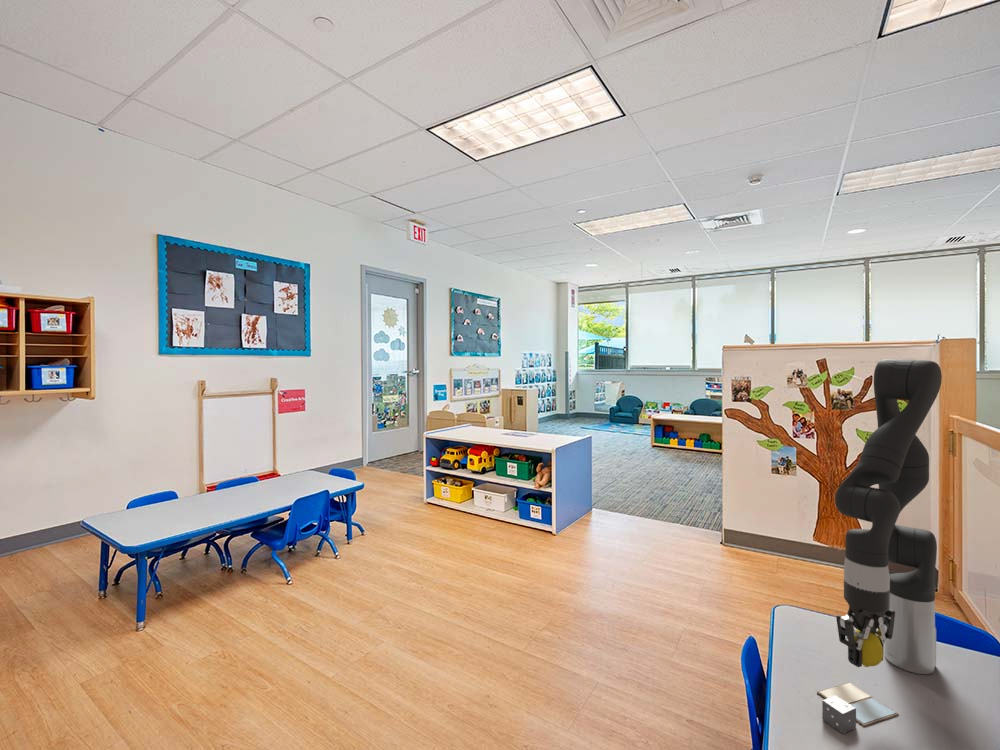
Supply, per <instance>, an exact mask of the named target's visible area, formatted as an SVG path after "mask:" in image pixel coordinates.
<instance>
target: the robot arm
mask: <svg viewBox="0 0 1000 750" xmlns="http://www.w3.org/2000/svg"><path fill="white" fill-rule="evenodd" d="M942 377H943V376H942V369H941V367H940V365H939V364H938V363H937V362H935V361H932V360H926V359H924V360H923V359H905V358H904V359H897V358H893V359H892V358H886V359H885V358H884V359H881V360H880V361H878V362H877V363H876V365H875V368H874V373H873V391H874V400H875V401H874V402H875V409H876V419H877V429H875V430H874V431H873V432H872V433H871V434H870V435H869V437H868V438H867V440H866V441H865V444H864V446H863V449H862V452H861V454H860V457H859V459H858V463H857V464H856V466H855V467H854V468H853V469H852V470H851V472H850V473H849V474H848V476H846V478H845V479H844V480H843V481H842V483H840V485H839V486H838V488H837V490H836V492H835V494H834V503H835V504H834V505H835V507H836V509H837V511H838V512H840V514H842V515H844V516H846V517H850V518H853V519H858V520H862V521H865V522H870V523H872V524H871V528H870V529H868V528H867V529H865V528H853V529H852V528H851V529H849V530H847V531H846V532H845V541H844V542H845V545H844V546H845V547H844V549H845V551H844V552H845V553H844V556H845V557H844V563H843V599H844V600H845V601H846V603H847V605H848V610H847V614H846V615H845V616H842V615H840V614H837V616H836V626H837V632H838V639H839V640H838V641H839V642H840V643H841V644H843V645H845V646H847V651H848V652H847V660H848V662H849V663H850V664H852V665H853V666H855V667H857V668H861V667H862V666H863V664H862V650H861V648H862V645H863V642H864V640H867V638H868V635H869V632H872V633H874V634H875V635H876V636H877V637H878V638H879V640H880V642H881V644H882V648H883V658H882V661H884V658H885V659H886V660H887V661H888V662H890V663H891V664H892V665H894V667H898V668H899V669H902V670H904V671H907V672H910V673H914V674H919V675H931V674H933V673H935V670H936V669H935V667H936V666H937V627H936V616H935V615H936V607H935V606H936V590H935V589H936V588H935V587H936V586H935V585H936V583H935V579H936V565H937V554H938V553H937V551H938V544H937V538H936V536H935V534H934V533H933V532H932V531H931V530H928V529H921V528H917V527H911V526H904V525H900V524H899V525H898V524H896V523H897V521H898V518H899V516H900V513H901V512H902V511H903V509H904V508H905V507H906V506H907V505H908V504H909V503H911V501H913V500H914V499H915V498H916V497H918V496H919V494H921V493H922V492H923V490H924V489H925V488H926V486H927V485H928V484H929V482H930V481H929V480H930V456H929V452H928V450H927V448H926V447H925V446H924V444H923V442H922V440H920V438H919V437H918V436H917V435H916V434H917V433H918V431H919V429H920V427H921V426H922V425H923V423H924V421H925V419H926V417H927V416H928V414H929V412H930V410H931V408H932V406H933V404H935V400H936V399H937V397H938V394H939V392H940V389H941V386H942V380H943V379H942ZM898 400H900V401H901V400H902V401H908V403H907V404H906V406H905V407H904V408H903V409H902V410H900V407H899V402H898ZM874 485H878V488H876V487H873V486H874ZM889 563H892V564H898V565H901V566H906V567H911V568H916V569H914V570H911V571H908V572H896V573H890V569H889ZM855 630H859V631H861V632H862V633H861V634H860V633H859V632H857V631H855ZM854 635H855V636H857V637H858V639H857V642H855V638H854ZM882 661H881V662H882Z"/></svg>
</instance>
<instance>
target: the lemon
mask: <svg viewBox="0 0 1000 750" xmlns="http://www.w3.org/2000/svg"><path fill="white" fill-rule="evenodd" d="M854 630H855V631H857V632H859V633H860V634H861V633H862V632H861V631H859V630H858V629H854ZM854 638H855V642H857V639H858V637H857V636H855V635H854ZM861 650H862V666H863V667H865V668H869V667H875V666H876V667H877V666H879V664H881V662H882V658H883V659H884V655H883V648H882V644H881V642H880V640H879V638H878V637H877V636H876V635H875V634H874V633H872V632H869V635H868V638H867V640H864V642H863V645H862V648H861Z"/></svg>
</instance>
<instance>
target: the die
mask: <svg viewBox="0 0 1000 750" xmlns="http://www.w3.org/2000/svg"><path fill="white" fill-rule="evenodd" d="M821 702H822V708H821V709H822V721H824V722H826V723H827V724H828V725H830V726H831V727H833V728H834V729H835V730H836V731H838V732H840V733H842V734H845V733H847V732H849V731H852V730H854V729H857V721H856V708H855V707H853V706H852V705H850V704H849V703H847V702H846V701H844V700H842V699H841V698H839V697H838V696H836V695H834V696H832V697H829V698H827V699H824V698H823V699H822V701H821Z"/></svg>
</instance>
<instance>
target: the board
mask: <svg viewBox="0 0 1000 750" xmlns="http://www.w3.org/2000/svg"><path fill="white" fill-rule="evenodd" d="M816 694H817V695H819V696H820V697H822V698H823V700H824V699H827V698H829V697H832V696H834V695H836V696H838V697H839V698H841V699H842V700H844V701H846V702H847V703H849V704H850V705H852V706H853V707H855V708H856V723H858V724H859V725H861V726H863V727H867V726H871V725H872V724H873V725H874V724H877V723H879V722H882V721H885V720H888V719H892V718H894V717H897V716H899V713H898V712H897V711H895V710H893V709H892V708H890V707H889V706H888V705H885V703H882V702H881V701H880V700H878V699H876V698H875V697H873V696H872V695H870V694H869V693H867V692H866V691H864V690H863V689H861V688H860V687H858V686H856V685H855V684H853V683H852V682H850V681H849V682H846V683H843V684H839V685H836V686H833V687H829V688H826V689H822V690H819V691H817V692H816Z"/></svg>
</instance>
